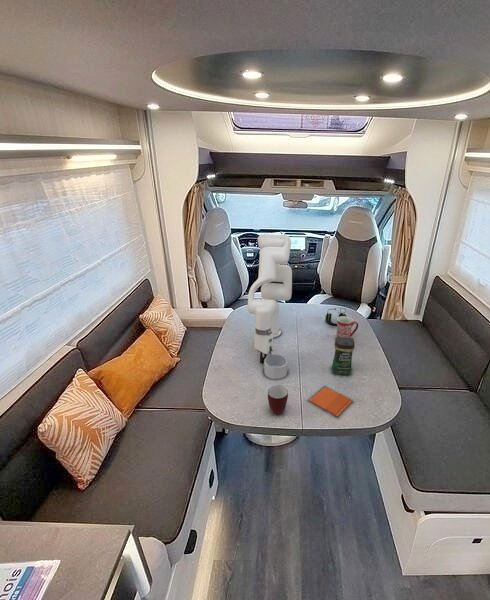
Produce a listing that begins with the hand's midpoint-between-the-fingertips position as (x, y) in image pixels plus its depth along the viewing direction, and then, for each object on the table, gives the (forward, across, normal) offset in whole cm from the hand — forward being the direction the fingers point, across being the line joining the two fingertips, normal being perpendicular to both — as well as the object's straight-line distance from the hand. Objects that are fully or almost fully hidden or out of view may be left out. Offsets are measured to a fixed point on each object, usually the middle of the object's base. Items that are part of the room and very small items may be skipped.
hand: (263, 362), depth 157 cm
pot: (+2, -8, 0) cm, 9 cm away
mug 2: (+2, -17, -51) cm, 54 cm away
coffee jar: (+2, -31, -24) cm, 39 cm away
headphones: (+1, 0, -67) cm, 67 cm away
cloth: (+2, -40, -2) cm, 40 cm away
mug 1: (+2, -26, +18) cm, 32 cm away
